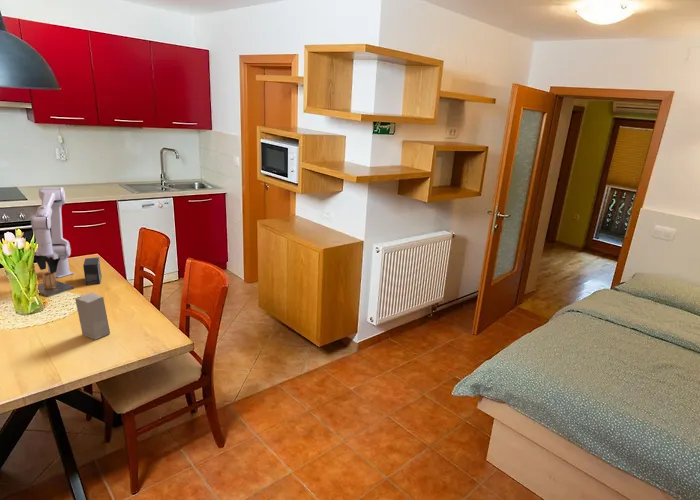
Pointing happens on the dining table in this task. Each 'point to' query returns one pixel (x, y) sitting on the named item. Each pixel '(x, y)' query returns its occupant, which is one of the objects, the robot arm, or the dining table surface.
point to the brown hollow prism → (49, 279)
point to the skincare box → (92, 315)
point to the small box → (92, 271)
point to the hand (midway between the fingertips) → (48, 270)
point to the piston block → (54, 289)
